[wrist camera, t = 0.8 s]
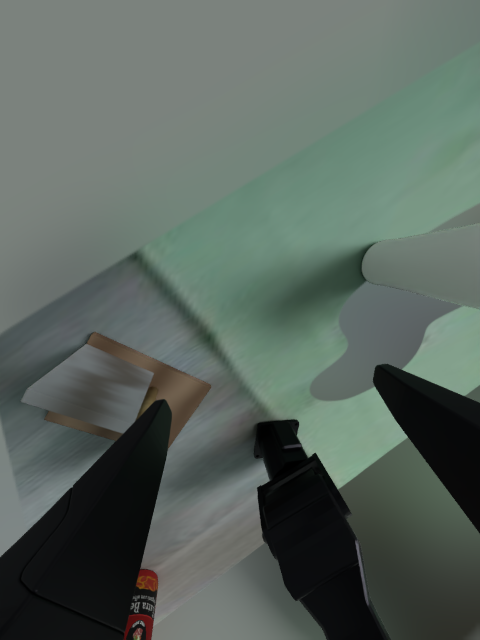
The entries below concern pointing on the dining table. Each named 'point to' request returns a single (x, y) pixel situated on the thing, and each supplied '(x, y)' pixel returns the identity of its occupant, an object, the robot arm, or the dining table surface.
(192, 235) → the dining table surface
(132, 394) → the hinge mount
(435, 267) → the white tapered cylinder
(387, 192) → the dining table surface
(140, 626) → the canned food
